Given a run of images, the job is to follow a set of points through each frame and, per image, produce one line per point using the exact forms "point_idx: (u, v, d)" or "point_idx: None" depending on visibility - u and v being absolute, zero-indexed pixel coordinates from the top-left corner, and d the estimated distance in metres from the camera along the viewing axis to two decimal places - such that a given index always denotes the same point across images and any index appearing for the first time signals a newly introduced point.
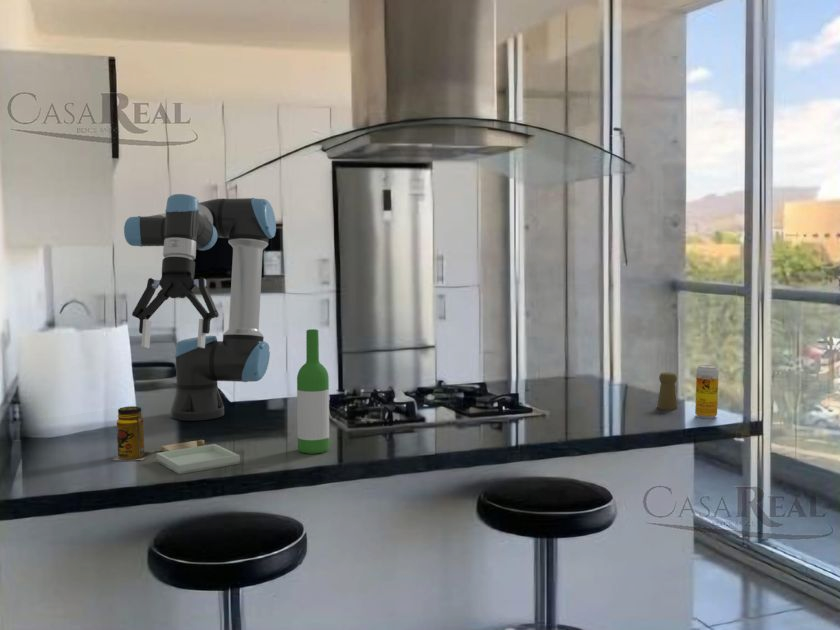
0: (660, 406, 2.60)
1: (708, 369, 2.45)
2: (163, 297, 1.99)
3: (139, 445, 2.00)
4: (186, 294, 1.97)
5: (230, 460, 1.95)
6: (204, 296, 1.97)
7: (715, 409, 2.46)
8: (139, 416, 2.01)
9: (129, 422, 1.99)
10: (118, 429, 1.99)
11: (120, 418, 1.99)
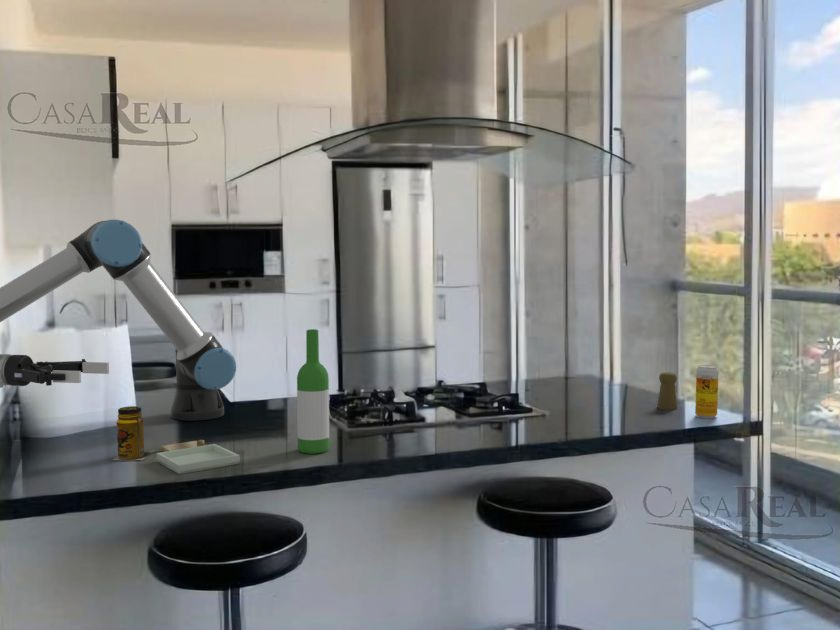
0: (660, 406, 2.60)
1: (708, 369, 2.45)
2: None
3: (139, 445, 2.00)
4: None
5: (230, 460, 1.95)
6: None
7: (715, 409, 2.46)
8: (139, 416, 2.01)
9: (129, 422, 1.99)
10: (118, 429, 1.99)
11: (120, 418, 1.99)
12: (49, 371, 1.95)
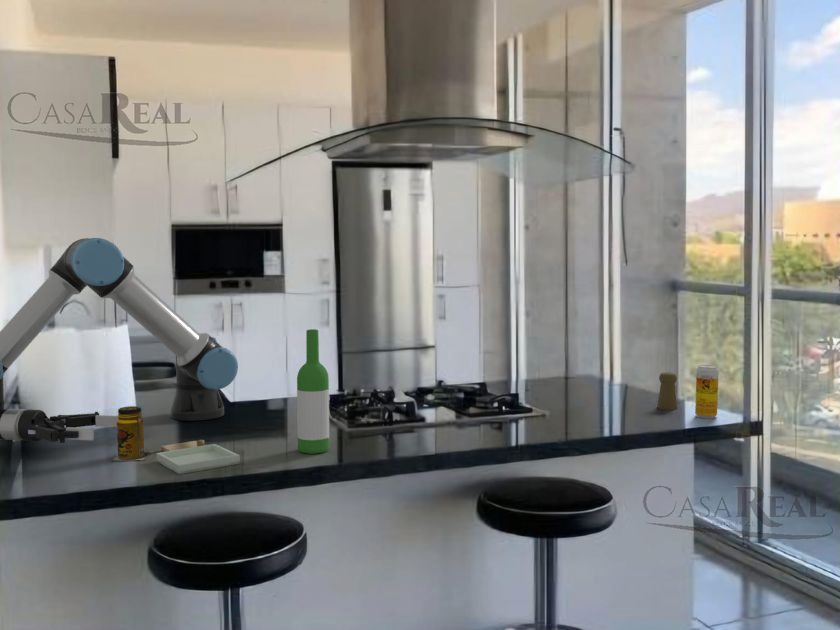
0: (660, 406, 2.60)
1: (708, 369, 2.45)
2: (68, 425, 2.07)
3: (139, 445, 2.00)
4: None
5: (230, 460, 1.95)
6: None
7: (715, 409, 2.46)
8: (139, 416, 2.01)
9: (129, 422, 1.99)
10: (118, 429, 1.99)
11: (120, 418, 1.99)
12: (62, 428, 1.96)
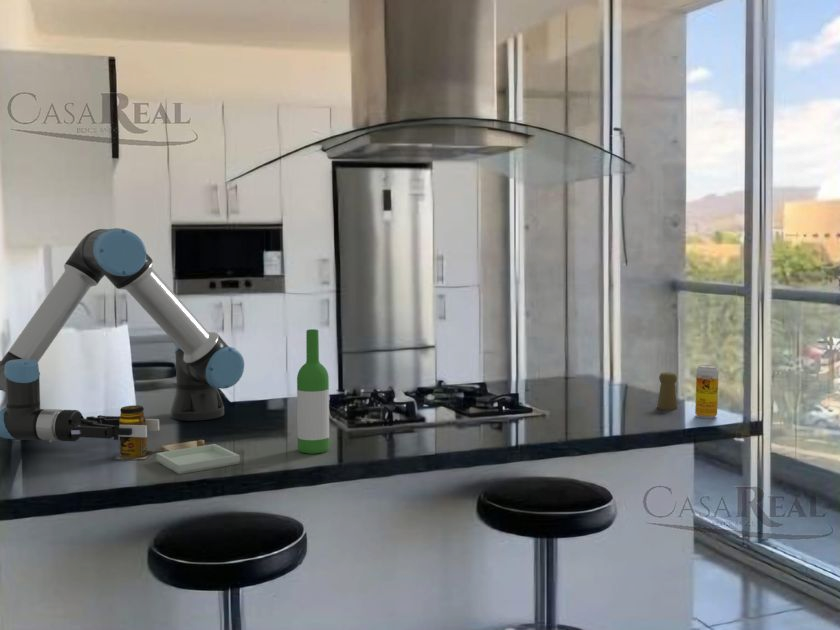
0: (660, 406, 2.60)
1: (708, 369, 2.45)
2: None
3: (141, 444, 2.01)
4: None
5: (230, 460, 1.95)
6: None
7: (715, 409, 2.46)
8: (141, 415, 2.01)
9: (132, 421, 1.99)
10: None
11: (122, 417, 2.00)
12: (116, 426, 1.98)
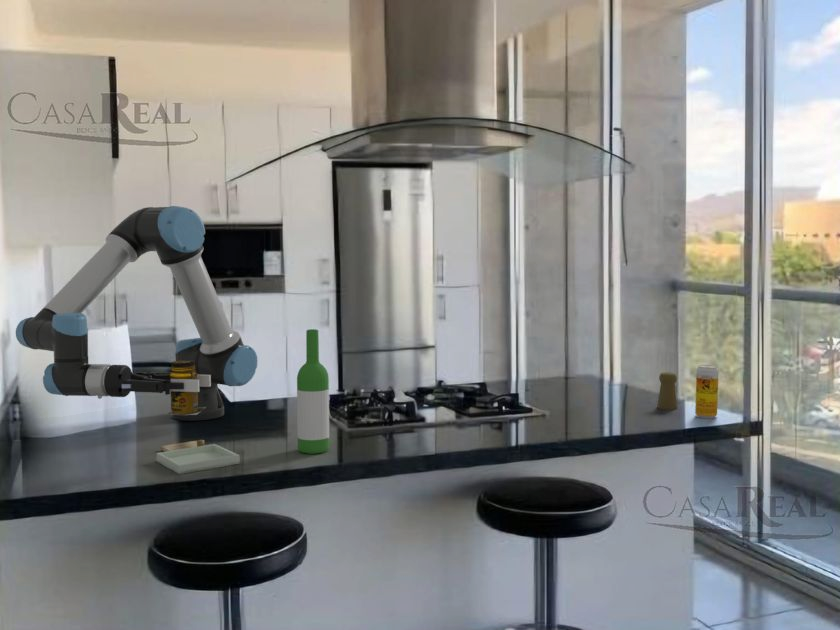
0: (660, 406, 2.60)
1: (708, 369, 2.45)
2: None
3: (192, 400, 1.94)
4: None
5: (230, 460, 1.95)
6: None
7: (715, 409, 2.46)
8: (193, 370, 1.95)
9: (183, 375, 1.93)
10: None
11: (174, 371, 1.93)
12: (168, 380, 1.92)
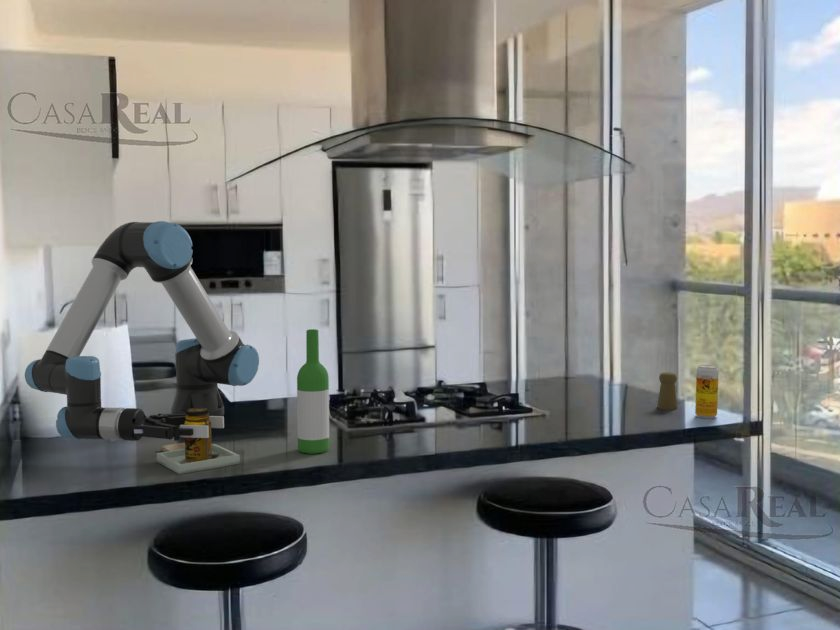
0: (660, 406, 2.60)
1: (708, 369, 2.45)
2: None
3: (207, 448, 1.95)
4: None
5: (230, 460, 1.95)
6: None
7: (715, 409, 2.46)
8: (207, 418, 1.96)
9: (198, 424, 1.94)
10: None
11: (188, 420, 1.94)
12: (177, 426, 1.91)
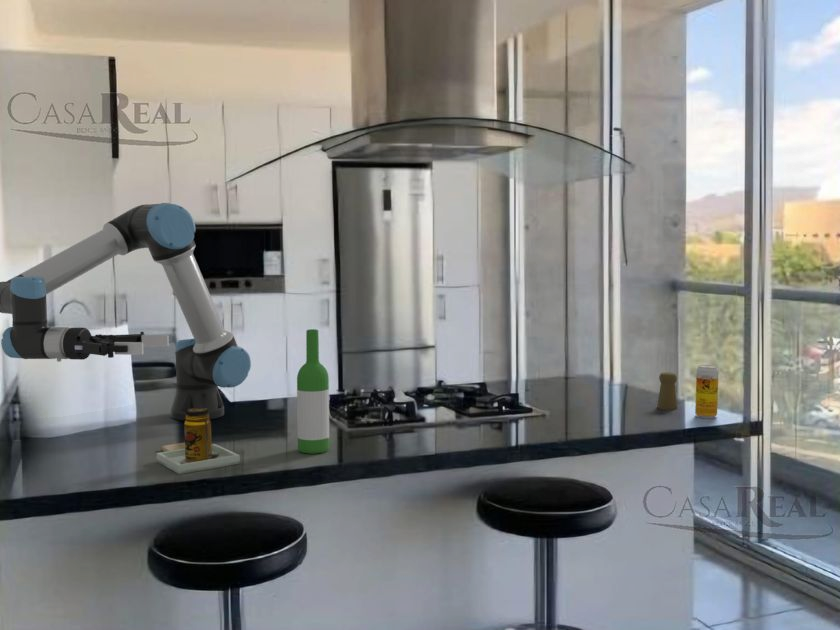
0: (660, 406, 2.60)
1: (708, 369, 2.45)
2: (113, 344, 2.00)
3: (207, 448, 1.95)
4: None
5: (230, 460, 1.95)
6: None
7: (715, 409, 2.46)
8: (207, 418, 1.96)
9: (198, 424, 1.94)
10: (186, 431, 1.94)
11: (188, 420, 1.94)
12: (111, 343, 1.89)
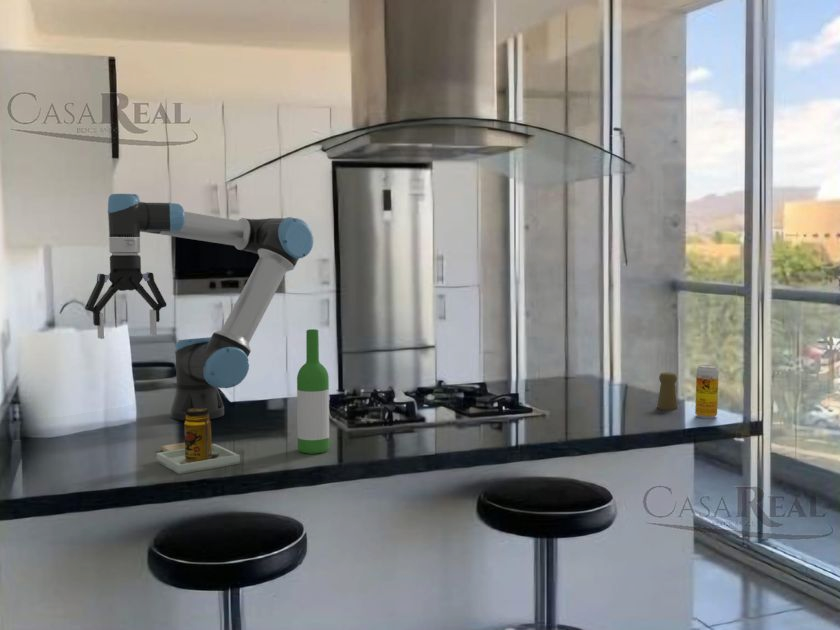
0: (660, 406, 2.60)
1: (708, 369, 2.45)
2: None
3: (207, 448, 1.95)
4: (140, 289, 2.19)
5: (230, 460, 1.95)
6: (155, 290, 2.22)
7: (715, 409, 2.46)
8: (207, 418, 1.96)
9: (198, 424, 1.94)
10: (186, 431, 1.94)
11: (188, 420, 1.94)
12: None
